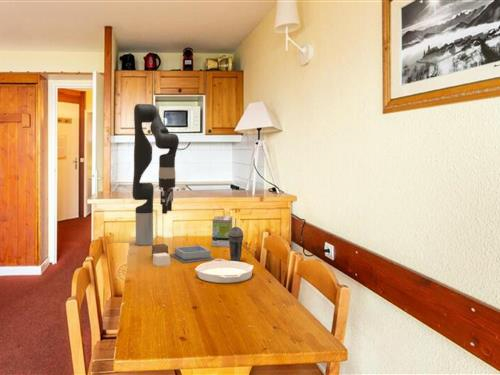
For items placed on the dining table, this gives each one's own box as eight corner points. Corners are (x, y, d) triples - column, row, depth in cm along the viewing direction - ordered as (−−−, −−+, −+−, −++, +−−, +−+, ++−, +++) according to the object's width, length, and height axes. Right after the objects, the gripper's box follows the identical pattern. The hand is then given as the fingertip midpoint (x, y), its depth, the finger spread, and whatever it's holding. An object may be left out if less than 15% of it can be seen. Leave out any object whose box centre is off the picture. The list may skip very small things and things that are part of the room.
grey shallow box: (170, 255, 214) (170, 247, 214) (200, 251, 222) (200, 244, 222) (182, 263, 199) (182, 254, 198) (215, 259, 206) (215, 251, 206)
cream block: (152, 263, 198) (152, 253, 198) (165, 262, 201) (165, 252, 201) (156, 266, 193) (156, 256, 192) (170, 265, 196) (170, 255, 195)
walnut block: (151, 257, 210) (151, 244, 210) (164, 256, 213) (164, 243, 212) (155, 260, 205) (155, 247, 204) (168, 258, 208) (168, 246, 207)
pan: (199, 287, 164) (199, 277, 164) (190, 269, 190) (190, 260, 190) (262, 283, 171) (263, 273, 170) (244, 265, 197) (245, 257, 196)
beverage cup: (244, 258, 209) (244, 216, 207) (242, 262, 202) (242, 219, 200) (229, 258, 210) (229, 216, 208) (226, 261, 202) (227, 218, 201)
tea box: (230, 247, 234) (230, 219, 233) (211, 246, 235) (211, 219, 233) (232, 241, 249) (232, 215, 248) (214, 241, 250) (214, 215, 248)
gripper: (162, 176, 210) (162, 209, 212) (154, 178, 196) (154, 214, 198) (178, 176, 210) (178, 210, 211) (171, 178, 196) (171, 214, 197)
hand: (166, 212), depth 204 cm, fingers open, 8 cm apart
